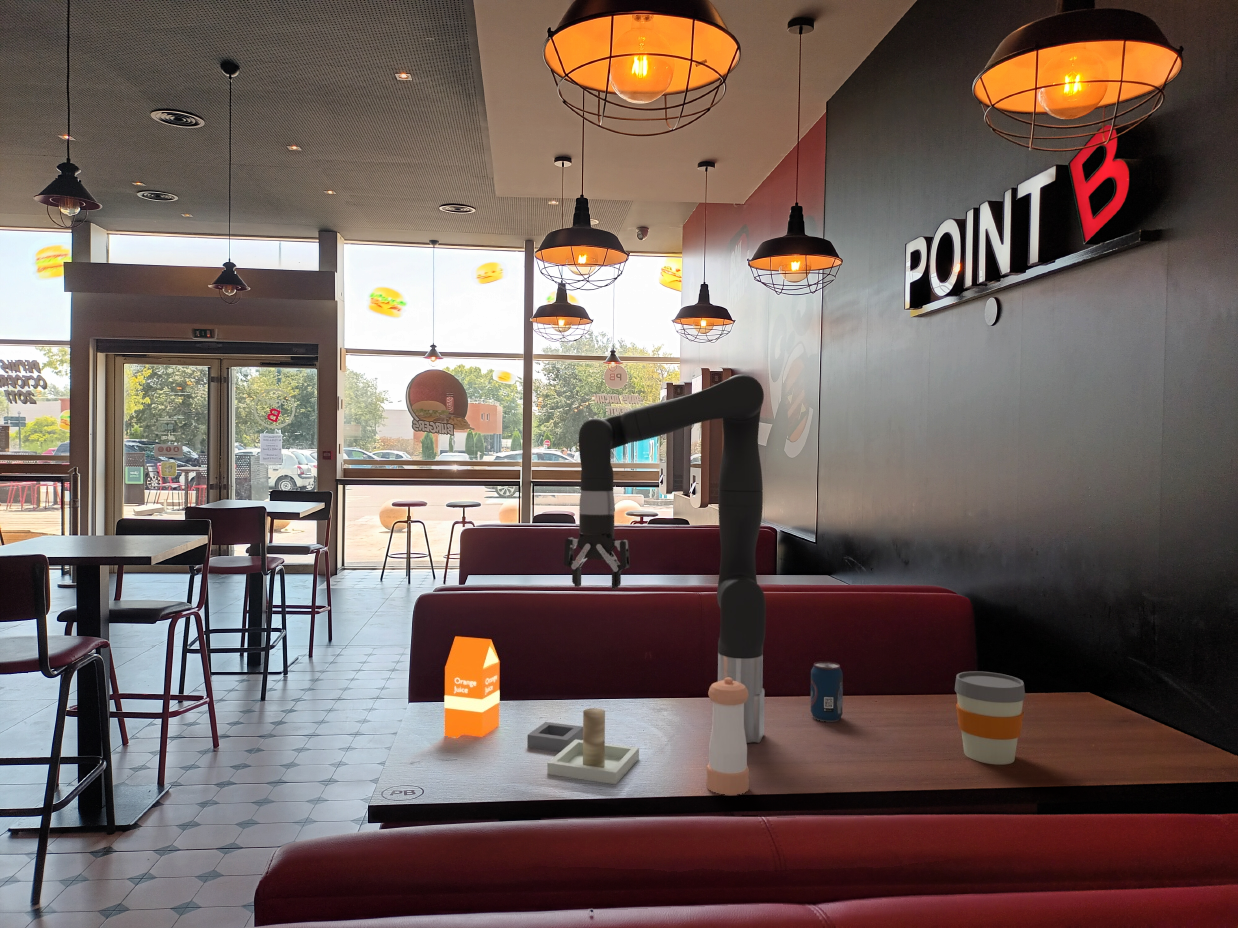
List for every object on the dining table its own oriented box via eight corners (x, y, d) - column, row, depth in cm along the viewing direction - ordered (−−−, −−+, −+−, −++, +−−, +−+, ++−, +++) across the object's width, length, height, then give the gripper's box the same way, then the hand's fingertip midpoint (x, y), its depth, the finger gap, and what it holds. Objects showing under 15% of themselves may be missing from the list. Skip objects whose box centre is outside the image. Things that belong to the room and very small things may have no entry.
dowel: (605, 762, 148) (606, 708, 148) (603, 770, 144) (603, 714, 144) (584, 761, 148) (584, 707, 148) (581, 769, 144) (581, 714, 144)
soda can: (809, 712, 182) (809, 660, 182) (840, 713, 181) (840, 661, 181) (812, 721, 175) (812, 667, 176) (844, 723, 175) (844, 668, 175)
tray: (638, 763, 150) (639, 747, 150) (615, 789, 138) (615, 772, 138) (575, 754, 154) (575, 739, 154) (547, 779, 142) (547, 762, 142)
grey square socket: (583, 743, 160) (583, 726, 161) (566, 757, 153) (567, 739, 153) (545, 738, 163) (545, 721, 163) (527, 752, 155) (527, 734, 155)
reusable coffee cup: (940, 749, 159) (940, 674, 159) (986, 741, 164) (986, 668, 164) (992, 771, 147) (992, 690, 147) (1040, 762, 152) (1040, 684, 152)
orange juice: (481, 741, 161) (482, 643, 161) (443, 736, 164) (444, 639, 164) (499, 729, 169) (500, 635, 169) (463, 725, 172) (463, 632, 172)
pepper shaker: (702, 791, 137) (702, 680, 137) (712, 776, 144) (713, 670, 144) (743, 798, 135) (744, 685, 135) (752, 782, 141) (753, 674, 142)
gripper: (559, 512, 169) (558, 588, 169) (622, 513, 164) (621, 592, 164) (572, 510, 176) (572, 583, 176) (633, 512, 171) (633, 587, 171)
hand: (596, 587), depth 170 cm, fingers open, 8 cm apart
